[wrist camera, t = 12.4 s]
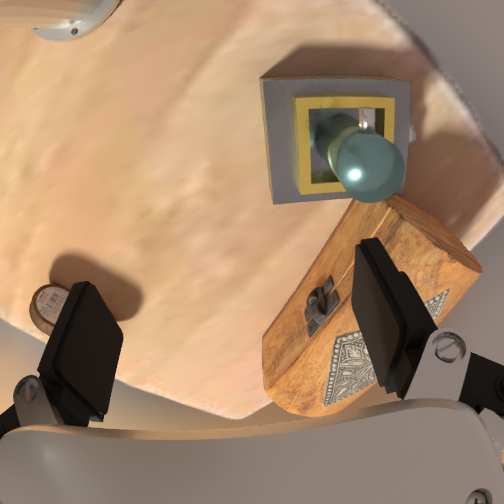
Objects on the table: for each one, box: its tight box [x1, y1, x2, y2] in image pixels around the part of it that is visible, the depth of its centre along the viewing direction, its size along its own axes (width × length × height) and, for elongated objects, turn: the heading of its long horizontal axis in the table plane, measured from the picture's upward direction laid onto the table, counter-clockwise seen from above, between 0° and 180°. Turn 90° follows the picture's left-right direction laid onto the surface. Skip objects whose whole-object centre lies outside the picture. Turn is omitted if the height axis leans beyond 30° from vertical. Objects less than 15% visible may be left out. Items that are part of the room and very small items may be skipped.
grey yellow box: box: [259, 75, 416, 205], centre depth 29 cm, size 12×16×6 cm
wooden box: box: [262, 195, 482, 417], centre depth 39 cm, size 30×16×14 cm, turn 155°
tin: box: [29, 284, 70, 336], centre depth 42 cm, size 15×3×8 cm, turn 53°
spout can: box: [317, 107, 405, 203], centre depth 24 cm, size 7×5×8 cm
